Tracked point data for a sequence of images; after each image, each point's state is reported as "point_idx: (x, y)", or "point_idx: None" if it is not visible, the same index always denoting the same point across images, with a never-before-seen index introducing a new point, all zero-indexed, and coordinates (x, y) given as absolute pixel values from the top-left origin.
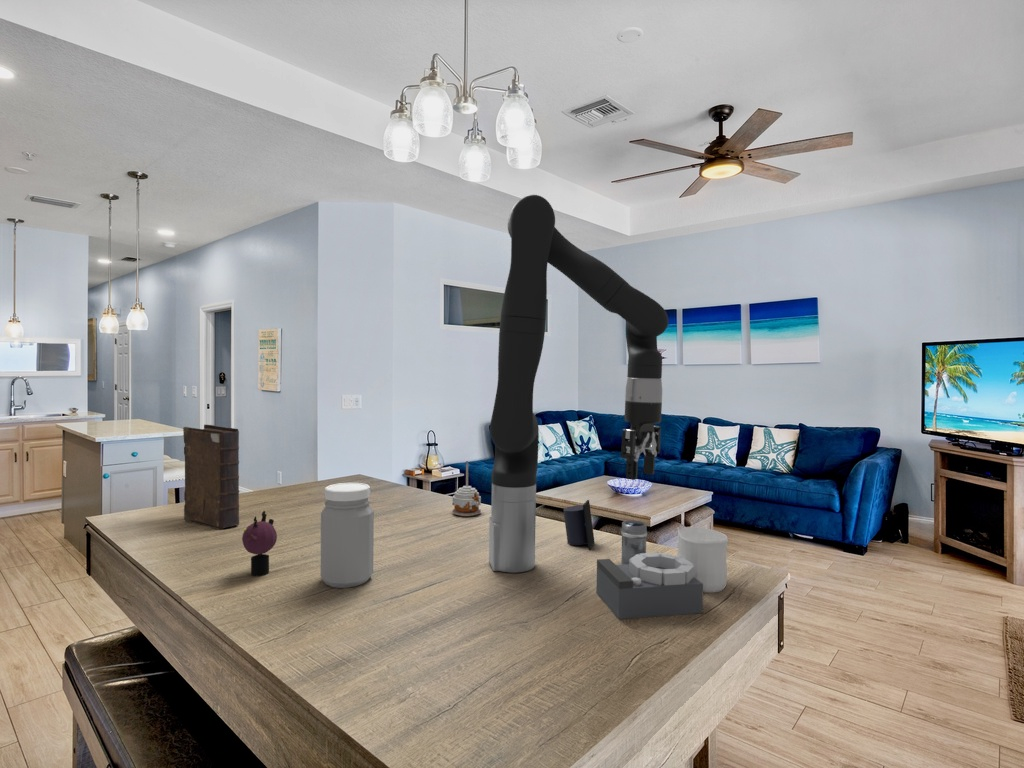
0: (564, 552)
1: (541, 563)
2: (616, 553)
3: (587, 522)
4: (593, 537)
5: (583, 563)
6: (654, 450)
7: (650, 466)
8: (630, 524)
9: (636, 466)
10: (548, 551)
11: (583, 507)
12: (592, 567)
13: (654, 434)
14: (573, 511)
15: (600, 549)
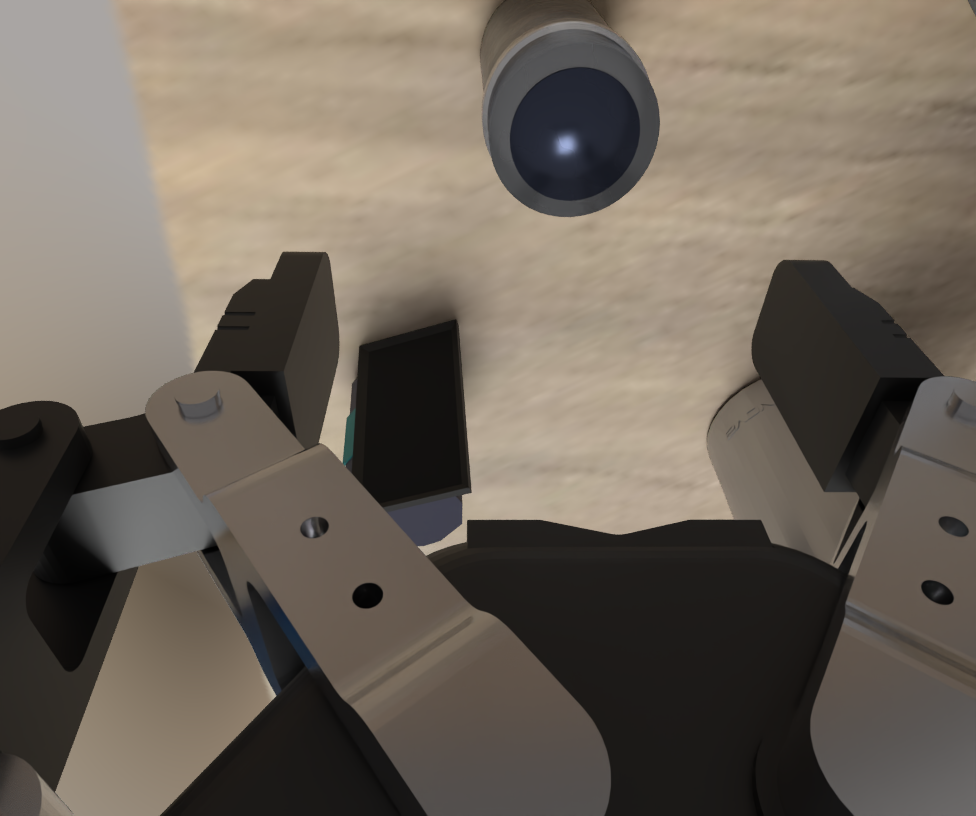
0: (550, 376)
1: (717, 375)
2: (416, 212)
3: (436, 416)
4: (363, 365)
5: (636, 262)
6: (243, 450)
7: (317, 328)
8: (632, 141)
9: (893, 338)
10: (575, 420)
11: (470, 479)
12: (666, 210)
13: (425, 763)
14: (460, 499)
15: (415, 292)
